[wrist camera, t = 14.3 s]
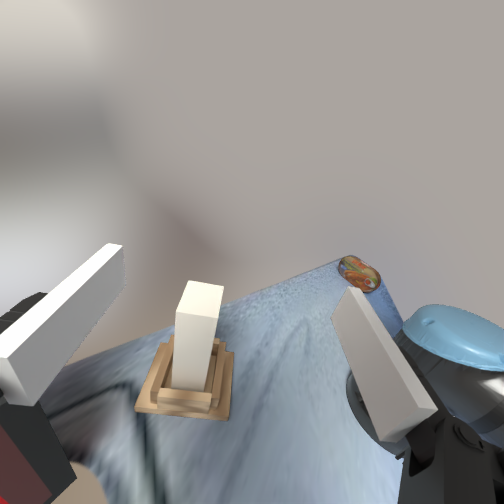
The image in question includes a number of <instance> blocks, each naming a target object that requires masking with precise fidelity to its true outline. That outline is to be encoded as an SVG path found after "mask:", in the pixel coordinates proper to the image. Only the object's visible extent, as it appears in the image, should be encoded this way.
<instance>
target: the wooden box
mask: <svg viewBox="0 0 504 504" xmlns="http://www.w3.org/2000/svg"><path fill="white" fill-rule="evenodd" d="M225 346H226V342H220V339H219V338H214V341H213V346H212V351H211V356H210V361H209V366H208V371H207V377H206V382H205V387H204V392H195V391H186V390H177V389H171V383H172V367H173V351H174V335H171V337H170V340H169V342H168V343H160V346H159V348H158V350H157V353H156V355H155V358H154V360H153V363H152V365H151V368H150V370H149V372H148V375H147V377H146V380H145V382H144V385H143V387H142V389H141V392H140V394H139V397H138V399H137V402H136V404H135V406H134V408H135V412H142V413H152V414H162V415H172V416H181V417H191V418H201V419H211V420H221V421H228V418H229V410H230V397H231V384H232V371H233V358H234V352H227V351H225Z"/></svg>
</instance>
